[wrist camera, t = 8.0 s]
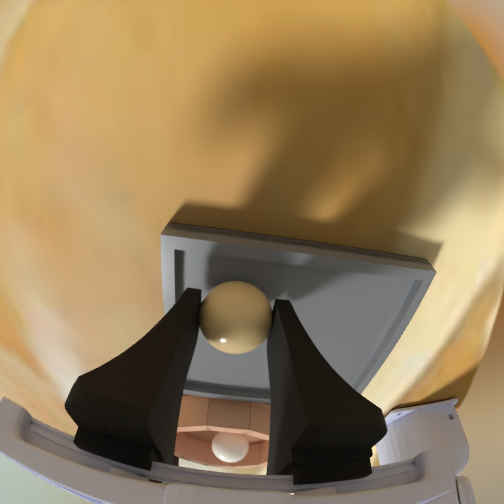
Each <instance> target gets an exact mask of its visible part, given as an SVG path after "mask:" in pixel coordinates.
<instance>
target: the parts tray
mask: <svg viewBox="0 0 504 504" xmlns="http://www.w3.org/2000/svg"><path fill="white" fill-rule="evenodd" d="M161 269H162V289H163V305H164V316H165V315H166V313H167V312H168V311H169V310H170V309H171V308H172V306H173V305H174V304H175V303H176V302H177V300H178V299H179V298H180V296H181V295H182V294H183V292H184V291H185V289H186V288H188V287H189V288H196V289H202V295H201V302H202V301H203V299H204V297H205V296H206V294H207V293H208V292H209V291H210V290H211V289H212V288H214V287H215V286H217V285H219V284H221V283H223V282H227V281H244V282H247V283H250V284H252V285H254V286H256V287H257V288H259V289H260V290H261V291H262V292H263V293H264V294H265V295H266V297H267V299H268V300H269V302H270V305H271V307H272V310H273V306H274V302H275V299H283V300H289V301H290V302H291V304H292V306H293V308H294V310H295V312H296V314H297V316H298V318H299V320H300V321H301V323H302V325H303V327H304V328H305V330H306V332H307V333H308V335H309V337H310V338H311V340H312V341H313V343H314V344H315V346H316V347H317V349H318V350H319V352H320V353H321V354H322V356H323V357H324V358H325V359H326V361H327V362H328V363H329V364H330V365H331V367H332V368H333V369H334V370H335V371H336V372H337V373H338V374H339V375H340V376H341V377H342V378H343V379H344V380H345V381H346V382H347V383H348V384H349V385H350V386H351V387H352V388H354V389H355V390H356V391H357V392H358V393H360V394H361V393H362V392H363V390H364V389H365V388H366V387H367V385H368V384H369V383H370V381H371V380H372V378H373V377H374V376H375V374H376V373H377V372H378V370H379V369H380V367H381V366H382V364H383V363H384V361H385V360H386V359H387V357H388V356H389V354H390V353H391V351H392V350H393V348H394V346H395V345H396V343H397V342H398V340H399V339H400V337H401V335H402V334H403V332H404V331H405V329H406V327H407V326H408V324H409V322H410V321H411V319H412V317H413V315H414V314H415V312H416V310H417V308H418V306H419V305H420V303H421V301H422V299H423V297H424V295H425V294H426V292H427V290H428V288H429V286H430V284H431V282H432V280H433V278H434V276H435V274H436V271H435V269H434V268H433V267H432V266H431V264H430V263H429V262H428V261H427V259H423V258H417V257H410V256H404V255H398V254H392V253H386V252H379V251H373V250H366V249H360V248H353V247H347V246H340V245H333V244H327V243H320V242H313V241H306V240H299V239H292V238H285V237H278V236H270V235H263V234H256V233H248V232H241V231H233V230H225V229H218V228H210V227H202V226H194V225H186V224H177V223H169V222H168V224H167V225H166V227H165V228H164V230H163V232H162V233H161ZM183 394H189V395H195V396H202V397H209V398H216V399H225V400H234V401H244V402H256V403H271V397H270V383H269V372H268V361H267V338H266V340H265V341H264V342H263V343H262V344H261V345H260V346H259V347H257V348H256V349H254V350H252V351H250V352H247V353H243V354H229V353H225V352H222V351H220V350H218V349H216V348H215V347H213V346H212V345H211V344H210V343H209V342H208V341H207V340H206V339H205V337H204V336H203V334H202V332H201V329H200V328H199V334H198V339H197V344H196V347H195V351H194V354H193V358H192V361H191V364H190V368H189V371H188V375H187V378H186V382H185V386H184V390H183Z"/></svg>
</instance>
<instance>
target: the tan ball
mask: <svg viewBox="0 0 504 504" xmlns="http://www.w3.org/2000/svg"><path fill="white" fill-rule="evenodd" d="M272 323H273V312H272V307H271V305H270V302H269V300H268V299H267V297H266V295H265V294H264V293H263V292H262V291H261V290H260V289H259V288H257V287H256V286H254V285H252V284H250V283H247V282H244V281H227V282H223V283H221V284H219V285H217V286H215V287H214V288H212V289H211V290H210V291H209V292H208V293H207V294H206V296H205V297H204V299H203V301H202V302H201V305H200V309H199V325H200V329H201V332H202V334H203V336H204V337H205V339H206V340H207V341H208V342H209V343H210V344H211V345H212V346H213V347H215V348H216V349H218V350H220V351H222V352H225V353H229V354H243V353H247V352H250V351H252V350H254V349H256V348H257V347H259V346H260V345H261V344H262V343H263V342H264V341H265V340H266V338H267V337H268V335H269V333H270V331H271V328H272Z"/></svg>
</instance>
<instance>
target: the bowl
mask: <svg viewBox="0 0 504 504" xmlns="http://www.w3.org/2000/svg"><path fill="white" fill-rule="evenodd" d="M270 406H271V403H256V402H244V401H234V400H225V399H216V398H209V397H202V396H195V395H189V394H185V395H183V396H182V402H181V408H180V414H179V421H178V428H177V436H176V444H175V453H174V455H175V456H177V457H179V458H182V459H185V460H188V461H192V462H195V463H198V464H202V465H206V466H214V467H224V468H251V467H262V466H266V465H267V463H268V450H269V434H270ZM219 432H229V433H240V434H244V435H245V437H246V438H247V440H248V442H249V450H248V453H247V455H246V456H245V457H244V458H243V459H242V460H240V461H237V462H232V463H229V462H224V461H222V460H220V459H218V458H217V457H216V456H215V454H214V453H213V451H212V440H213V438H214V437H215V435H216V434H217V433H219Z"/></svg>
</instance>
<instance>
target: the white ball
mask: <svg viewBox="0 0 504 504" xmlns="http://www.w3.org/2000/svg"><path fill="white" fill-rule="evenodd" d="M248 450H249V442H248V440H247V438H246V437H245V435H244V434H240V433H229V432H219V433H217V434H216V435H215V437H214V438H213V440H212V451H213V453H214V454H215V456H216V457H217V458H218V459H220V460H222V461H224V462H229V463H232V462H237V461H240V460H242V459H243V458H244V457H245V456H246V455H247V453H248Z"/></svg>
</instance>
